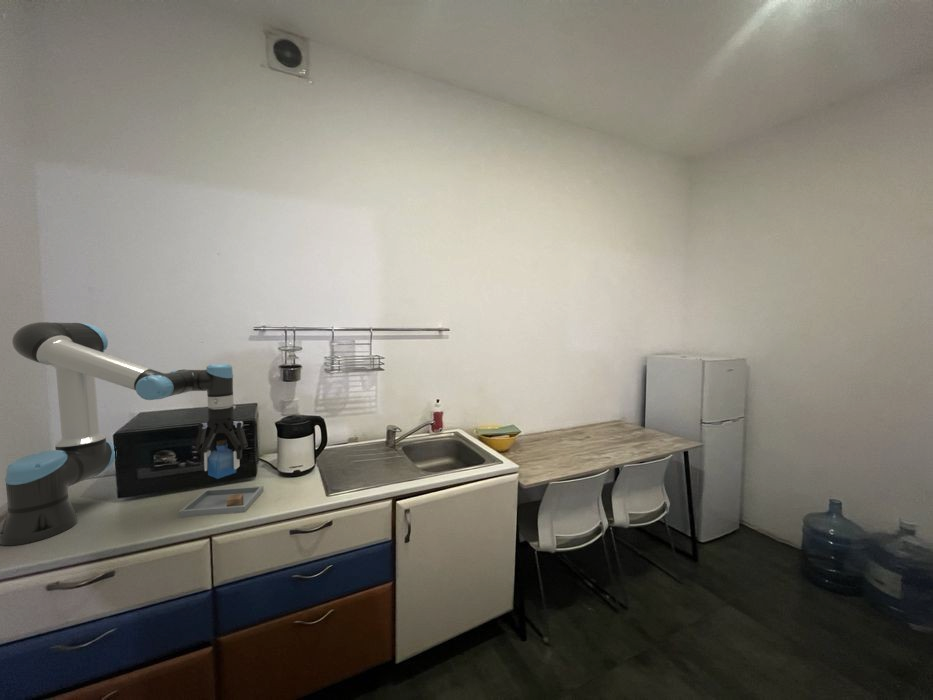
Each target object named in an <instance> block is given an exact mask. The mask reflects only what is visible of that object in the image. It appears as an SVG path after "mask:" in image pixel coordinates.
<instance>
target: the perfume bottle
mask: <svg viewBox="0 0 933 700" xmlns="http://www.w3.org/2000/svg"><path fill="white" fill-rule="evenodd" d="M215 444H216V445H215V448H216V449H215V450H212V451H211V454H210V456H209V457H208V471H207V475H208V476H209V477H212V478H215V479H217V480H218V479H221V478H224V477H227V476H230V475H233V474H236V473H237V469H234V455H233V452H234V451H233V450H232V449H230V448H228V444H229V443H228V440H227V439H220V440H217V441H216V443H215Z"/></svg>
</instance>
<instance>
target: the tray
mask: <svg viewBox="0 0 933 700" xmlns="http://www.w3.org/2000/svg"><path fill="white" fill-rule="evenodd" d="M262 493H264V485H257V486H242V487H239V486H238V487H227V488H226V487H225V488H211V489H205V490H203V491H202V492H201V493H199V495H197V496H196V497H194V498H193V499H192V500H191V501H190V502H188V503H187V504H186V505H185V506H184V507H183V508H181V509H179V511H178V518H184V517H185V518H187V517H198V516H199V517H200V516H210V515H212V516H213V515H225V514H238V513H246V512H247V511H248V510H249V508H250V507H251V506H252V505H253V504H254V503H255V501H256V500H257V499H258V498H259V496H261V494H262ZM235 494H243V505H242V506H228V507H227V499H228V498H229V496H230V495H235Z"/></svg>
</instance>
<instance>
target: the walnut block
mask: <svg viewBox="0 0 933 700" xmlns="http://www.w3.org/2000/svg"><path fill="white" fill-rule="evenodd" d="M242 505H243V494H235V495H230V496H229V498H228V499H227V507H228V506H242Z"/></svg>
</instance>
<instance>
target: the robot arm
mask: <svg viewBox="0 0 933 700" xmlns="http://www.w3.org/2000/svg"><path fill="white" fill-rule="evenodd" d="M11 340H12V346H13V349H14V351H15V352H17V354H18V355H20V356H22V357H23V358H26V359H28V360H29V361H33V362H36V363H39V364H42V365H46V366H51V367H53V368H54V369H55V375H56V376H55V377H56V388H57V399H58V410H59V421H60V431H61V432H60V433H61V439H60V440H59V441H58V442H57V443H55V449H52V450H46V451H40V452H38V453H33V454H32V453H31V454H29V455H26V456H23V457H20V458H19V459H16V460H14V461H12V462H11V463H10V464H8V466H7V467H6V470H5V472H6V473H5V475H6V476H5V477H4V478H5V479H4V482H5V486H6V488H5V491H6V501H7V502H6V503H7V515H6V518H5V520H4V523H3V525H2V528H1V530H0V545H1V546H18V545H24V544H30V543H33V542H38V541H42V540H44V539H47V538H50V537H54V536H56V535H58V534H61V533H63V532H65V531H67V530H69V529H70V528H72V527H73V526H75V525H76V524H77V523H78V521H79V519H78V512H76V510H74V507H73V505H72V503H71V502H70V499H69V487H71V486H74V485H76V484H78V483H80V482H83V481H86V480H87V479H90V478H93V477H96V476H98V475H99V474H101V473H104V472H105V471H106V470H108V469H109V468H110V467H111V466H112V465H114V463H115V461H116V459H115V451H114V446H115V445H114V444H112V442H110V441H109V440H107V435H105V434H102V433H100V428H99V414H98V402H97V391H96V390H97V389H96V378H97V379H99V380H102V381H106V382H109V383H112V384H115V385H117V386H120V387H123V388H126V389H130V390H133V391H135V392H136V395H138V396H139V397H140V398H141V399H143V400H145V401H146V400H147V401H153V400H154V401H155V400H156V401H157V400H163V399H165V398H168V397H173V396H176V395H180V394H185V393H188V392H205V391H206V393H207V395H206V396H207V407H208V409H207V419H208V421H207V422H201V423H199V424H198V425H197V428H198V432H197V437H196V442H195V443H196V444H195V445H194V446H195V447H194V451H195V452H200V453H201V454H200V455H201V461H202V462H203V465H204V466H203V467H204V472H208V457H209V456H210V454H211V453H212V451H211V450H210V447H211V445H212V442H213V440H214V439H215V437H216V435H217V434H225V436H227V437H228V439H229V441H230V443H231V445H232V446H233V448H234V449H235V450H234V451H232V452H233V455H234V469H236V470H237V469H238V468H239V467H240V465H241V464H240V460H241V459H242V458H243V450H244V449H246V448H248V446H249V445H248V439H247V436H246V433H245V430H244V423H245V422H244V421H243V420H241V421H235V418H234V416H235V413H234V410H235V409H234V406H233V405H234V404H235V403H234V380H233V379H234V374H233V367H232V365H231V364H229V363H212V364H207V366H206V369H175V370H174V369H173V370H171V371H170V372H166V373H165V372H161V371H158V370H154V369H152V368H150V367H146V366H143V365H140V364H138V363H135V362H132V361H128V360H127V359H123V358H119V357H117V356H114V355H110V354H108V353H105V350H107V348H108V347H109V346H108V345H109V342H108V338H107V335H106V334H105V332H103V330H102V329H100V328H99V327H98V326H95V325H93V324H89V323H82V322H48V321H43V322H41V321H40V322H33V323H29V324H26V325H24V326H22V327H21V328H19V329H18V330H16V332H15V334H14V335H13V336H12V339H11ZM233 426H235V427H234V428H235V429H236V433H237V435H236V433H235V430H234V429H233ZM208 428H209V429H210V430H209V433H208V435H207V437H206V433H207V429H208ZM205 437H206V439H205Z"/></svg>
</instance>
